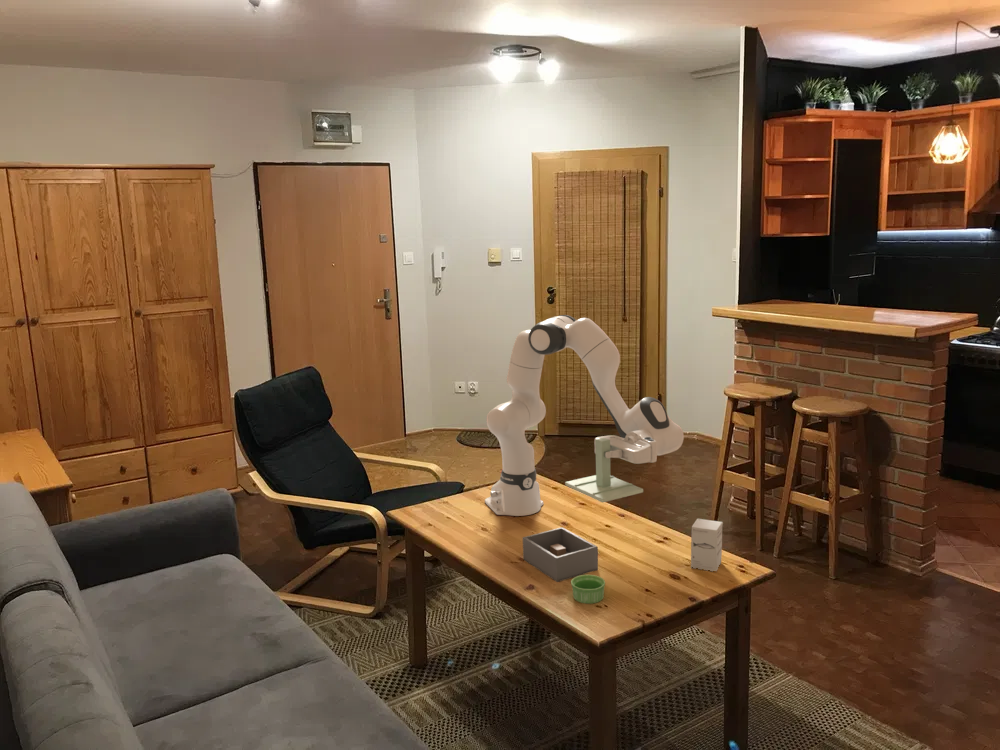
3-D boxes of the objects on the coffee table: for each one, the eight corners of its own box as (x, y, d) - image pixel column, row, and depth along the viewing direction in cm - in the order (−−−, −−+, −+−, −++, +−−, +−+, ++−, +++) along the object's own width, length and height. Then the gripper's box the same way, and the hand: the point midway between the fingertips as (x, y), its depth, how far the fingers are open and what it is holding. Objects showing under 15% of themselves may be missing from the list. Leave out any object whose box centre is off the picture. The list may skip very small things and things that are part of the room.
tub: (523, 559, 235) (522, 537, 234) (562, 548, 242) (562, 527, 240) (556, 582, 220) (556, 558, 218) (598, 569, 226) (597, 546, 225)
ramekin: (592, 586, 216) (592, 571, 215) (612, 599, 208) (612, 584, 208) (564, 594, 212) (564, 579, 211) (583, 608, 204) (583, 592, 203)
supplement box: (690, 568, 225) (690, 526, 222) (696, 558, 231) (697, 517, 229) (716, 573, 221) (717, 530, 219) (722, 562, 228) (723, 521, 225)
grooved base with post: (565, 485, 239) (564, 437, 236) (604, 476, 246) (603, 429, 243) (602, 502, 223) (601, 451, 220) (643, 492, 230) (642, 442, 227)
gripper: (616, 428, 247) (579, 435, 240) (659, 442, 229) (621, 450, 223) (616, 447, 248) (580, 455, 242) (660, 463, 231) (622, 472, 224)
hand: (600, 453), depth 232 cm, fingers closed on grooved base with post, 3 cm apart
